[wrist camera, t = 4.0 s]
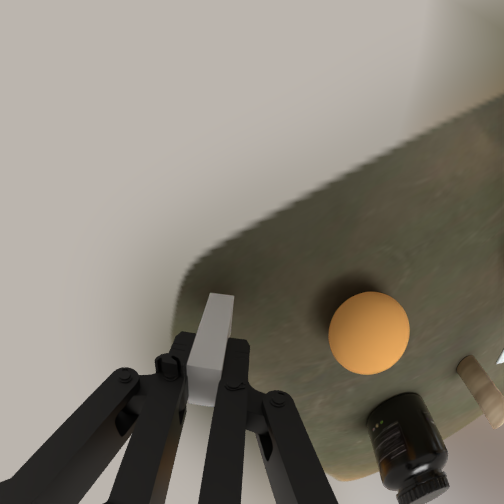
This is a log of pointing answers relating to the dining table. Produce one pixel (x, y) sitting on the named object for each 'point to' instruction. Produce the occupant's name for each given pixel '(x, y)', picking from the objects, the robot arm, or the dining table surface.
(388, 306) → the ball
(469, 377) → the post
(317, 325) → the dining table surface
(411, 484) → the supplement bottle
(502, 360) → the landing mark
